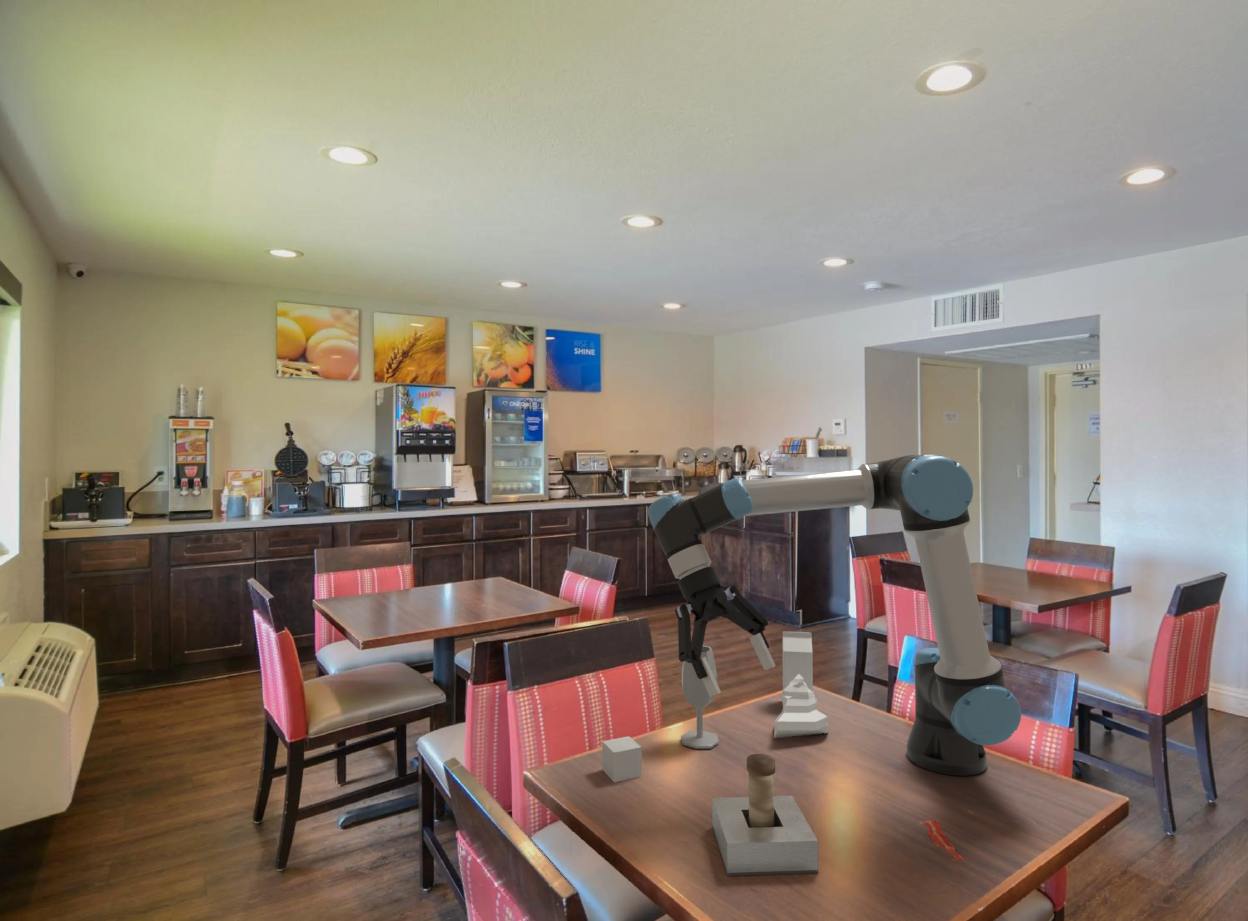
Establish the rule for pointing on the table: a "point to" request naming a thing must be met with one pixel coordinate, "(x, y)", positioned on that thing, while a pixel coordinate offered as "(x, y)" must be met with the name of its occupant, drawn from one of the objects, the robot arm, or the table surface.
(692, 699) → the wineglass
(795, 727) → the soft serve ice cream
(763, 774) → the beige cylinder
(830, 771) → the table surface
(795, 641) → the milk carton
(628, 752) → the grey cube
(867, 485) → the robot arm
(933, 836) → the bacon strip
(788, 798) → the block
